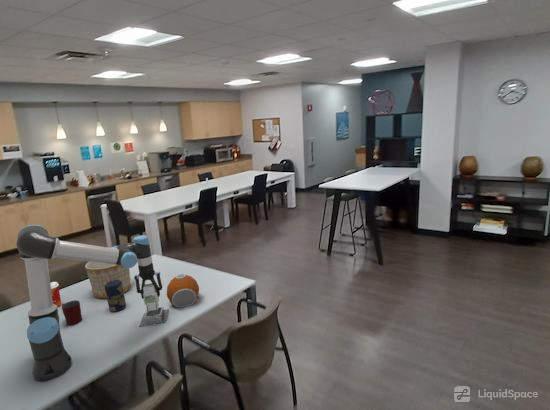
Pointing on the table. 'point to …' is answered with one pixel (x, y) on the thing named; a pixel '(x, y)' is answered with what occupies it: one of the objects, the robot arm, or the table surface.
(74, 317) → the mug
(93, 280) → the planter
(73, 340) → the table surface
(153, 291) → the syrup box
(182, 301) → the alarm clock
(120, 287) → the canister
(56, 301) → the coffee cup
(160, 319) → the collar
